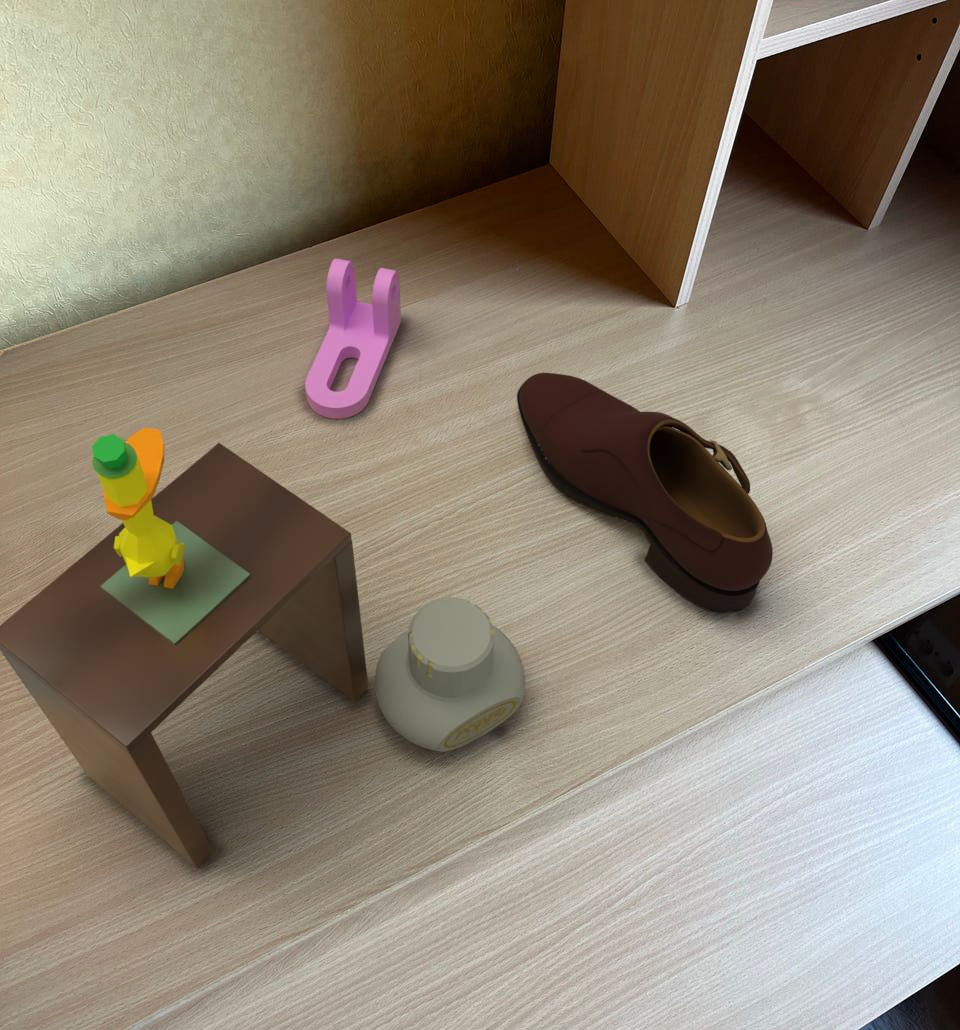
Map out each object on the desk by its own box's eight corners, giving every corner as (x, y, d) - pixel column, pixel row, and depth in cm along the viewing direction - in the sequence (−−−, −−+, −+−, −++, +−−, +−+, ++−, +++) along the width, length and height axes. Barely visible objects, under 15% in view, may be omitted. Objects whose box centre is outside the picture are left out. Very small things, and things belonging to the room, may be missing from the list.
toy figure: (155, 519, 65) (102, 376, 55) (214, 528, 65) (172, 386, 55) (118, 614, 62) (55, 481, 51) (180, 624, 62) (128, 492, 51)
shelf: (87, 775, 78) (-13, 632, 61) (262, 609, 86) (218, 439, 68) (196, 868, 75) (125, 746, 58) (369, 688, 83) (351, 531, 65)
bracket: (343, 309, 102) (338, 249, 96) (401, 321, 102) (398, 262, 96) (298, 411, 96) (288, 353, 90) (359, 424, 96) (353, 367, 90)
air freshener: (481, 626, 86) (486, 554, 77) (540, 707, 82) (552, 640, 74) (358, 691, 82) (350, 623, 74) (415, 778, 79) (413, 717, 70)
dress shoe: (567, 376, 99) (582, 275, 89) (786, 586, 89) (831, 499, 79) (486, 421, 96) (492, 322, 86) (703, 644, 86) (739, 561, 76)
